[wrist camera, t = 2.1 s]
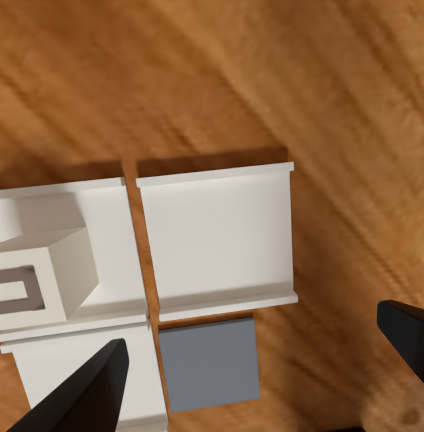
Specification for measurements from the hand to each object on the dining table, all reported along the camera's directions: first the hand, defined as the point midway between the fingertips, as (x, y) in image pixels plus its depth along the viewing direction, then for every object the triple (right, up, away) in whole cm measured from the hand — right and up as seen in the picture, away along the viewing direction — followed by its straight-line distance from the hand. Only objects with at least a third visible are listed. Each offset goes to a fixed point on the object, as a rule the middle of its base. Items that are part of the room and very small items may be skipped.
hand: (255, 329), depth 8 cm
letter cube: (-13, +1, +9) cm, 15 cm away
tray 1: (-13, +1, +9) cm, 16 cm away
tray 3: (-1, +2, +10) cm, 10 cm away
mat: (-2, -9, +12) cm, 15 cm away
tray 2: (-11, -10, +11) cm, 19 cm away
